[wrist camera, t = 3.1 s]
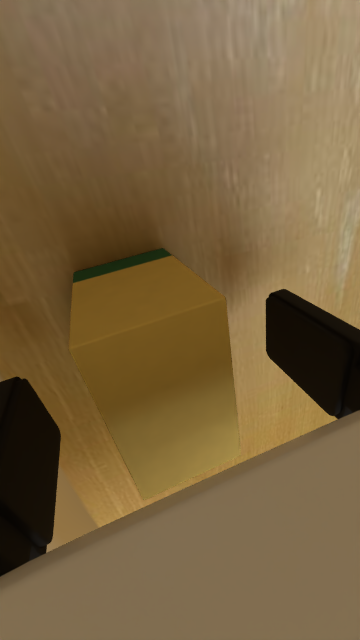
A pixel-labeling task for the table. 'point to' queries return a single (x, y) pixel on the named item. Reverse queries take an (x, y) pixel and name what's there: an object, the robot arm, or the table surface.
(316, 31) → the table surface
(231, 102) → the table surface
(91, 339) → the sponge
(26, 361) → the table surface
